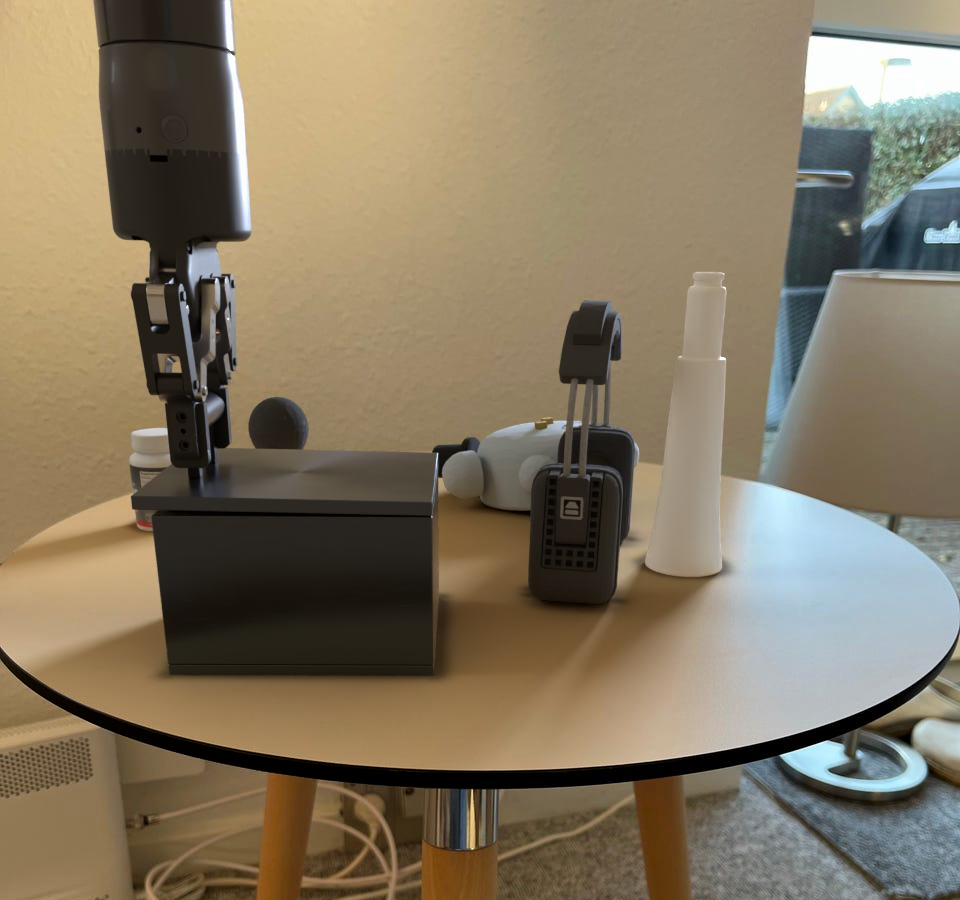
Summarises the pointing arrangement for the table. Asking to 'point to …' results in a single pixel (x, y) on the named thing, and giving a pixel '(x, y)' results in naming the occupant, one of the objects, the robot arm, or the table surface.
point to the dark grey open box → (298, 592)
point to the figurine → (502, 463)
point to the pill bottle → (148, 464)
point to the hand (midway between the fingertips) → (202, 455)
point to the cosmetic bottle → (694, 442)
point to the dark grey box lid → (295, 480)
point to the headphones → (583, 475)
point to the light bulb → (278, 425)
